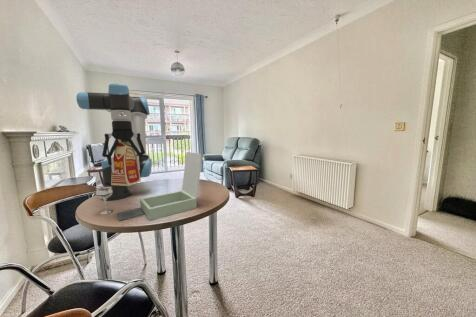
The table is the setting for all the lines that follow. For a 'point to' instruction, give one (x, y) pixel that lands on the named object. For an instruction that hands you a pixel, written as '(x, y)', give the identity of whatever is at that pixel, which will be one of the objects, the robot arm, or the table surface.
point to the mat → (130, 214)
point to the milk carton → (125, 165)
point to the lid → (192, 173)
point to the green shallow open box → (168, 209)
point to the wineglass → (104, 196)
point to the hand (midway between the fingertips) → (126, 170)
